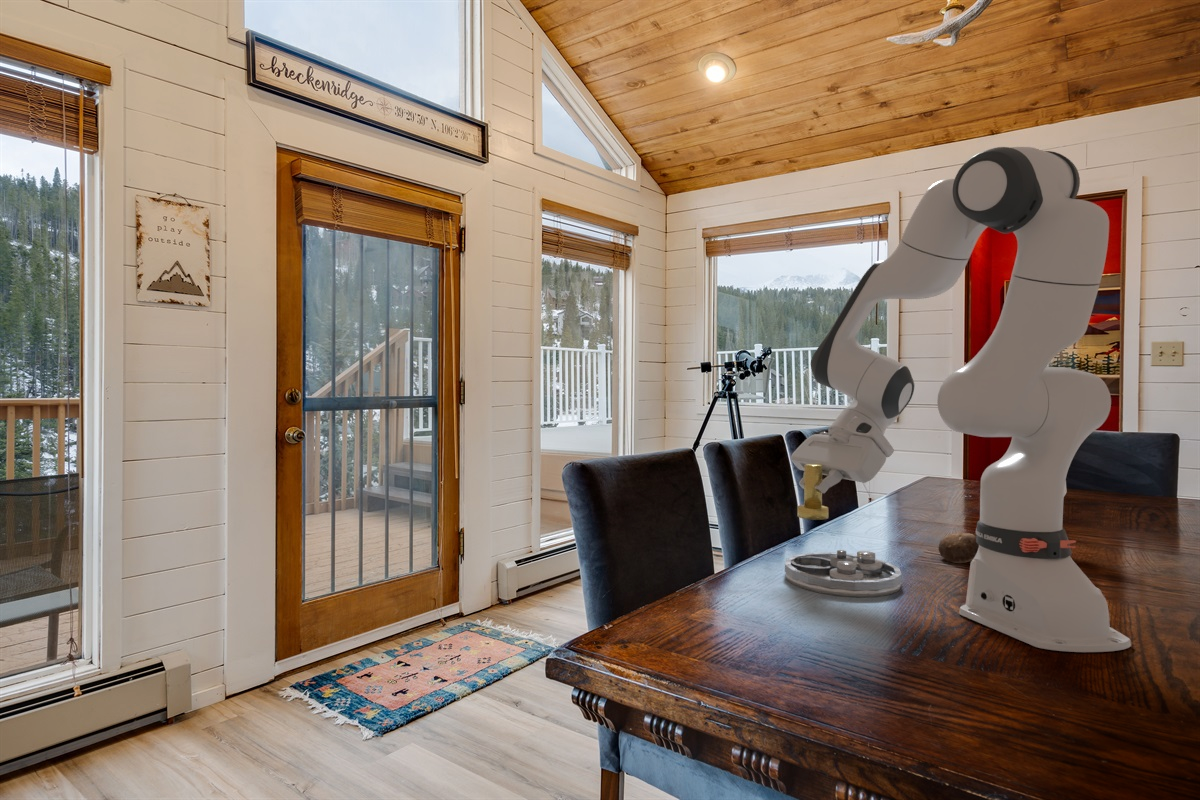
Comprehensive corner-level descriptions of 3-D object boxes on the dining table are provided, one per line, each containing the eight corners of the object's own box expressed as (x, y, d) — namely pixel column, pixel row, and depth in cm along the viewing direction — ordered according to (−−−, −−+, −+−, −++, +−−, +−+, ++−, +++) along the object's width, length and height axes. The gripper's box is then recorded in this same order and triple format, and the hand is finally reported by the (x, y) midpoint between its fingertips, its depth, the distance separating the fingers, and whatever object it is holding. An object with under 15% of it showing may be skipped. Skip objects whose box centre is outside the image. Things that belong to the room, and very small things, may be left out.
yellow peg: (832, 519, 127) (833, 467, 126) (803, 519, 126) (803, 467, 126) (822, 513, 132) (822, 463, 132) (793, 513, 132) (794, 463, 132)
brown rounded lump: (977, 541, 143) (966, 519, 142) (994, 564, 136) (982, 542, 134) (940, 556, 146) (928, 535, 144) (955, 580, 138) (943, 558, 137)
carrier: (922, 596, 117) (923, 564, 116) (808, 598, 115) (808, 566, 115) (869, 564, 137) (869, 538, 136) (771, 566, 135) (771, 539, 135)
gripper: (809, 421, 141) (768, 470, 138) (882, 428, 122) (837, 485, 119) (826, 442, 143) (786, 491, 140) (901, 452, 124) (857, 509, 120)
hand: (810, 488), depth 129 cm, fingers closed on yellow peg, 3 cm apart
